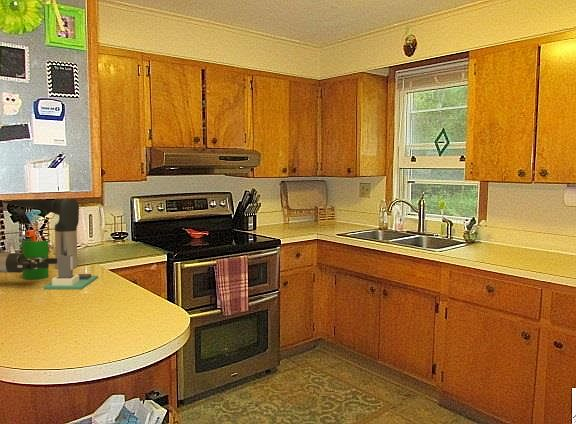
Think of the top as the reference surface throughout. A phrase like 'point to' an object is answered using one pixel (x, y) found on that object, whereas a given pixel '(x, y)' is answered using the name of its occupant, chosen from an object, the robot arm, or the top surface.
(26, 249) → the green pen holder
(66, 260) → the plug
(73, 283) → the board
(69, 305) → the top surface
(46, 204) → the robot arm
